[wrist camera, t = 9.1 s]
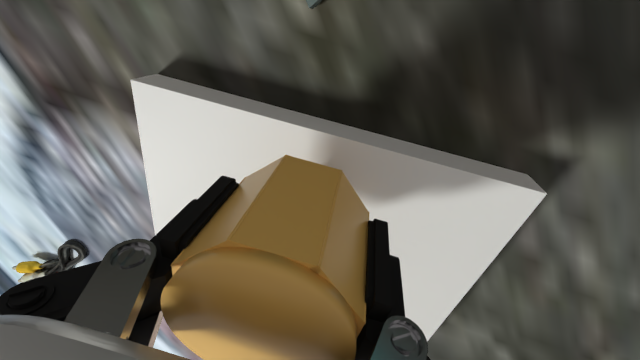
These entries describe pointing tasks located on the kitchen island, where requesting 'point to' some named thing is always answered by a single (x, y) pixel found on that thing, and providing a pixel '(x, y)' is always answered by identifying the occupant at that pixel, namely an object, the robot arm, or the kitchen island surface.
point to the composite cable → (52, 262)
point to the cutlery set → (313, 3)
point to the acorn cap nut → (275, 270)
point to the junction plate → (359, 168)
